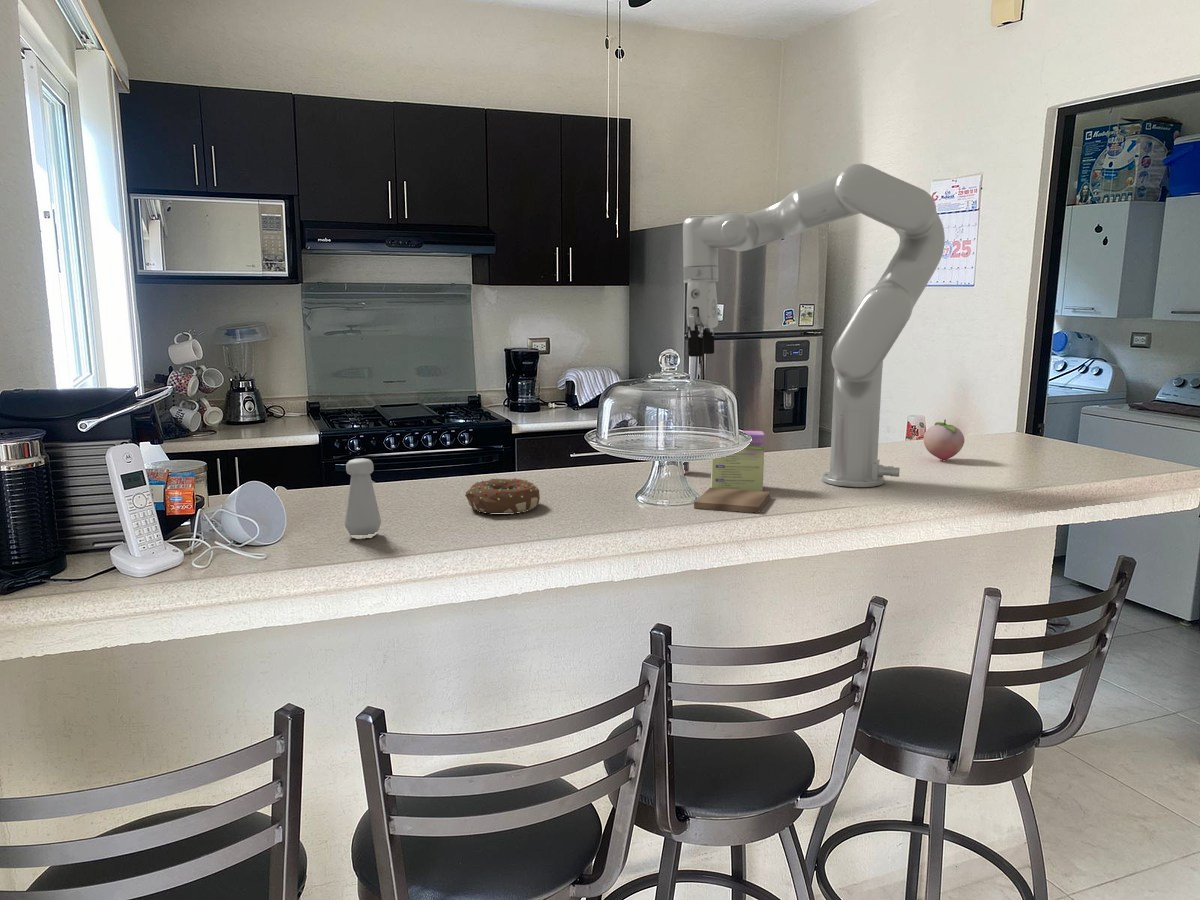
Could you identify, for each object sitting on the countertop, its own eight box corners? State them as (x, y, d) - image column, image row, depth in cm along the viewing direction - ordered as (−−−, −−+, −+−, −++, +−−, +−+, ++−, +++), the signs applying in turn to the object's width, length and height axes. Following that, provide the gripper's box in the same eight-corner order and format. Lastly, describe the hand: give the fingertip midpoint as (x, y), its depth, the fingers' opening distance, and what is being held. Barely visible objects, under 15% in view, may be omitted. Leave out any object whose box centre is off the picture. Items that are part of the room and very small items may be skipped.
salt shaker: (338, 537, 141) (333, 460, 138) (365, 530, 145) (360, 455, 143) (362, 543, 137) (357, 464, 135) (388, 534, 142) (384, 458, 140)
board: (770, 497, 166) (770, 491, 166) (758, 513, 154) (758, 506, 154) (710, 493, 171) (710, 487, 170) (693, 508, 159) (694, 501, 158)
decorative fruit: (914, 458, 206) (916, 417, 204) (943, 456, 208) (945, 416, 207) (939, 465, 197) (941, 423, 196) (969, 463, 199) (972, 421, 198)
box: (760, 485, 178) (762, 429, 176) (763, 491, 172) (764, 434, 170) (710, 485, 179) (711, 429, 177) (711, 491, 173) (712, 433, 171)
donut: (490, 498, 169) (489, 473, 168) (552, 504, 164) (552, 478, 163) (451, 515, 156) (450, 488, 155) (517, 522, 151) (516, 494, 150)
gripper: (708, 273, 175) (709, 357, 178) (726, 275, 191) (727, 352, 194) (673, 275, 178) (674, 357, 180) (694, 277, 193) (695, 352, 196)
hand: (701, 355), depth 187 cm, fingers open, 9 cm apart
